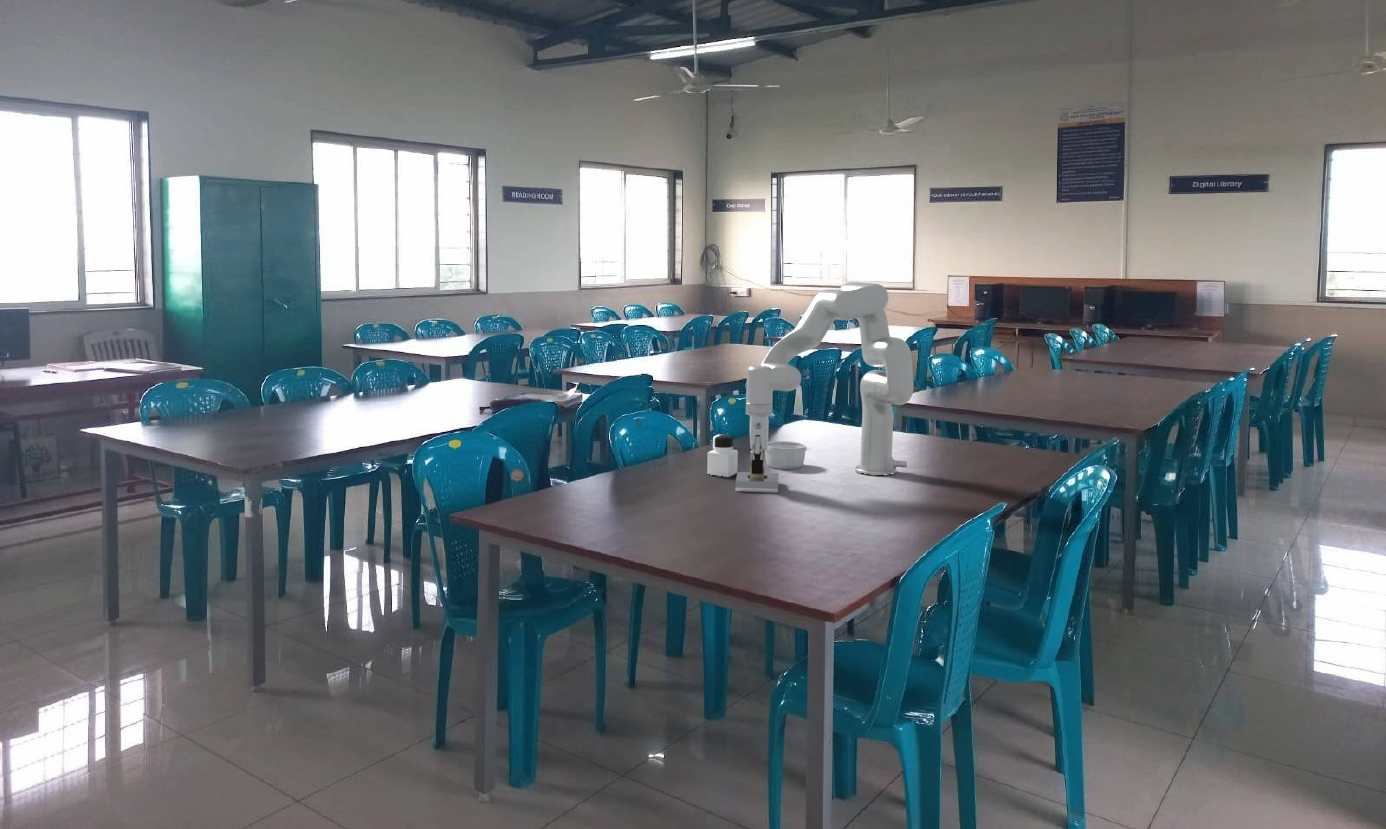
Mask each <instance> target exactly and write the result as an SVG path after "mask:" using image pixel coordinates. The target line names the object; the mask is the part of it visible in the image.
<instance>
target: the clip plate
mask: <svg viewBox="0 0 1386 829" xmlns="http://www.w3.org/2000/svg"><path fill="white" fill-rule="evenodd" d="M735 492H745V493H746V492H747V493H748V492H749V493H751V492H752V493H779V473H778V472H764V479H755V478H750V471H737V473H736V478H735Z"/></svg>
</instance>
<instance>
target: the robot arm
mask: <svg viewBox="0 0 1386 829" xmlns="http://www.w3.org/2000/svg"><path fill="white" fill-rule="evenodd" d="M888 302H889V292H888V290H887V289H886V288H885V287H884V286H883V285H881V284H880V283H871V282H862V281H861V282H858V281H857V282H855V281H852V282H846V283H844V284H842V285H841V286H840V287H839V289H823V290H820V291H819V292H817V293H816V295H815V296H814V297H813V299H812V300H811V302H810V303H809V305H808V307H807V308H806V310H805V312H804V314H802V316H801V318H800V319H799V322H798V323H797V325H796V326H795V327H794V329H793V330H792V331H790V332H789V333H787V334H786V335H785V336H784V337H781V339H780V340H779V341H777V342H776V343H775V344H774V345H773V346H772V347H771V348H770V349H769V350H768V352H767V354H766V356H765V357H764V359H763V360H762V362H761V364H760V365H759V364H758V365H751V366H749V367H747V369H746V370H747V371H746V385H745V386H746V392H745V394H746V395H745V397H746V398H745V415H748V416H749V445H750V449H751V451H753V460H752V474H762V473H763V460H762V451H765V450H767V449H768V442H769V429H770V428H769V426H770V424H769V416H772V415H773V395H774V394H773V393H774V391H780V392H791V391H794V390H796V389H797V388H798V387H799V386H800V385H801V382H802V375H801V372H800V371H799V369H798V368H797V367H795V366H793V365H791V364H790V365H789V364H788V363H790V361H791V360H792V359H794V358H795V357H796V356H798V355H800V354H802V353H804V352H807V351H809V350H812V349H814V348H817V347H818V346H819V345H820V344H821V343H822V341H823V339H824V338H825V336H826V335H827V333H828V332H829V330H830V328H831V327H832V325H833V323H834V322H835V320H839V321H849V320H850V321H851V320H855V319H857V321H858V325H859V332H860V342H861V343H860V345H861V353H862V354H861V355H862V359H863V360H862V361H863V362H864V363H865V364H866V365H868V366H870V367H874V368H875V367H876V368H882V369H885V370H882V369H872V370H870V371H868V372H866V373H865V374H863V376H862V378H861V380H860V385H859V390H860V397H861V398H860V399H861V407H862V409H861V410H862V412H861V413H862V414H861V416H862V418H861V420H862V421H861V436H860V438H861V441H860V461H859V462H860V464H858V465H856V466H855V467H854V470H855V472H856V473H858V474H861V473H864V474H863V475H866V474H870V475H869V476H876V475H884V474H891V473H895V474H897V468H907V467H908V461H906V460H905V461H904V460H895V459H894V457H893V437H894V434H893V433H894V420H895V418H894V417H895V416H894V411H893V406H892V405H895V406H904V405H905V404H907V403H908V402H910V400H911V399H912V396H913V394H914V374H913V373H914V371H913V360H912V353H911V352H912V351H911V349H910V346H909V345H908V343H907V342H906V341H905V340H904V339H902V338H899V337H894V336H891V335H890V329H889V323H888V322H889V321H888V317H887V314H886V311H885V308H886V306H887V305H888V304H889V303H888ZM760 452H761V453H760ZM760 456H761V457H760ZM754 459H755V460H754Z"/></svg>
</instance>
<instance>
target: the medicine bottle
mask: <svg viewBox="0 0 1386 829" xmlns="http://www.w3.org/2000/svg"><path fill="white" fill-rule="evenodd" d="M738 457H739V451H738V450H737V449H734V437H733V436H731V435H729V434H723V433H722V434H716V435H714V436H713V438H712V450H710V451H708V452H707V463H706V464H707V467H706V468H707V470H706V473H707V474H710V475H709V476H712V475H717V476H716V477H721V476H723V478H729V477H732V476H734V475H735V474H736V475H737V472H738V467H739V466H738V460H739V459H738Z"/></svg>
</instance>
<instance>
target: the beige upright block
mask: <svg viewBox="0 0 1386 829" xmlns="http://www.w3.org/2000/svg"><path fill="white" fill-rule="evenodd" d="M760 453H761V452H760ZM760 457H761V456H760ZM749 459H750V460H749V461H750V463H749V465H750V466H749V467H750V468H749V472H750V478H755V479H764V473H765V461H766V452H765V450H763V451H762V460H763V473H762V474H752V460H753V450H750V458H749ZM754 460H755V459H754Z"/></svg>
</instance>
